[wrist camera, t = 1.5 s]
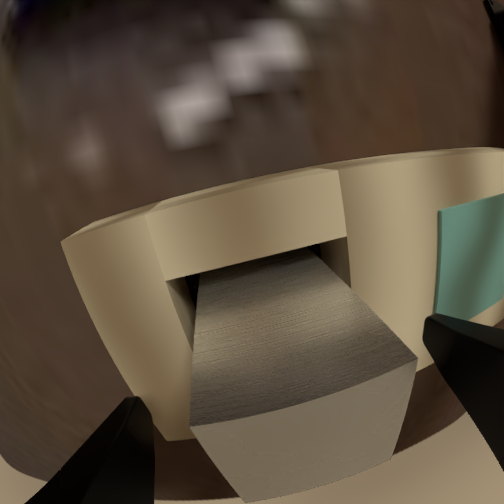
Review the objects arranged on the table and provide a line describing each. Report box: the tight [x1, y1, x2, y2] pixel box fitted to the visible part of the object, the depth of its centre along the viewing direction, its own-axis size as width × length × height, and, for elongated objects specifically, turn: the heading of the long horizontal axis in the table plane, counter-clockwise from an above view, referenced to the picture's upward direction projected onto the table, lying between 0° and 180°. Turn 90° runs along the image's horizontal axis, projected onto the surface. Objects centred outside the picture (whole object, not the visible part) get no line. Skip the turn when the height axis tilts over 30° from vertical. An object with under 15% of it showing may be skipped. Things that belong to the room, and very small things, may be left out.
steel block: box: [189, 246, 418, 503], centre depth 9 cm, size 4×4×8 cm
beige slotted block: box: [61, 147, 504, 441], centre depth 11 cm, size 21×10×3 cm, turn 102°
